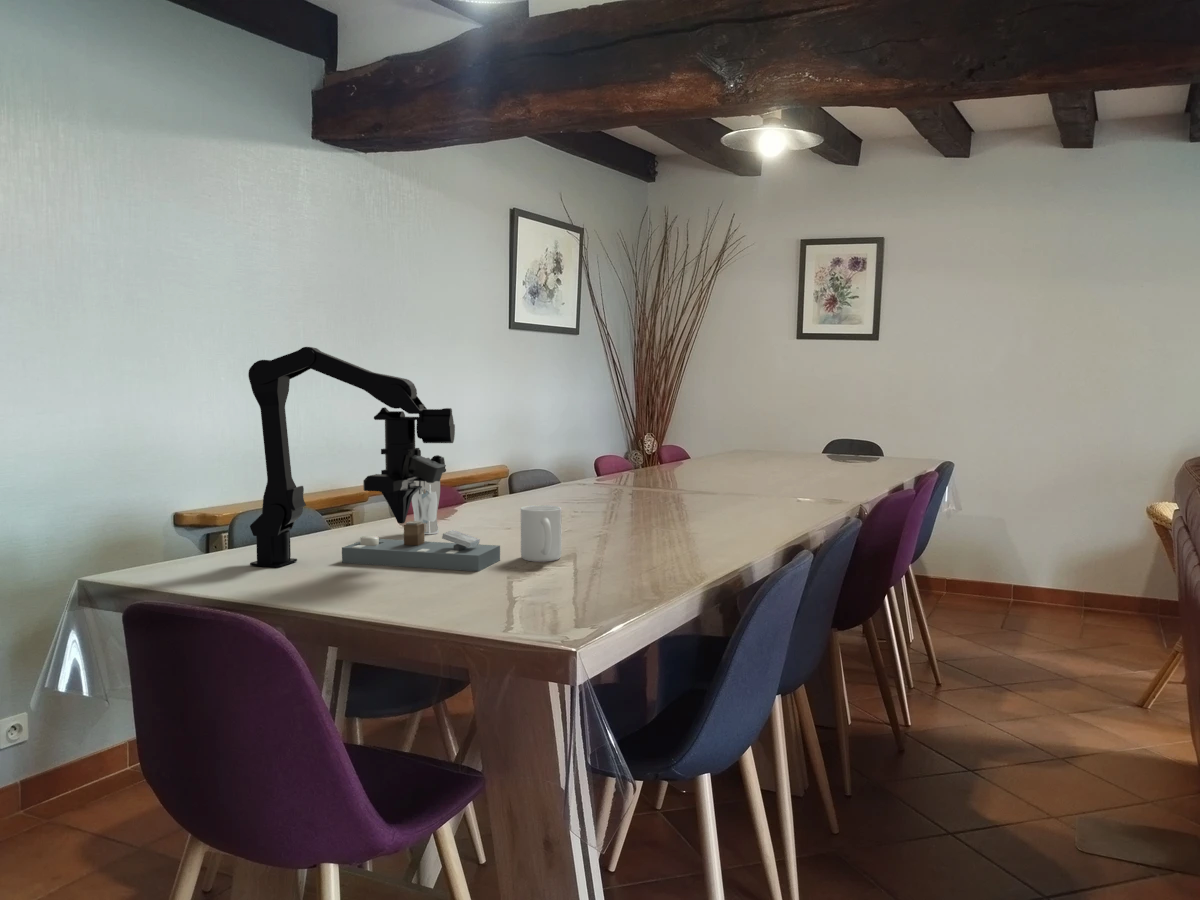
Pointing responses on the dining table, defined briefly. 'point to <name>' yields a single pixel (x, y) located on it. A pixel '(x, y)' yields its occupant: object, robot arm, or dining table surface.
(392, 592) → the dining table surface
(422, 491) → the beer glass
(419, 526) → the slider knob
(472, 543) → the rocker paddle
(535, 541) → the mug
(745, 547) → the dining table surface
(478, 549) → the console
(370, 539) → the white rounded cube
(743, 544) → the dining table surface
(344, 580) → the dining table surface
